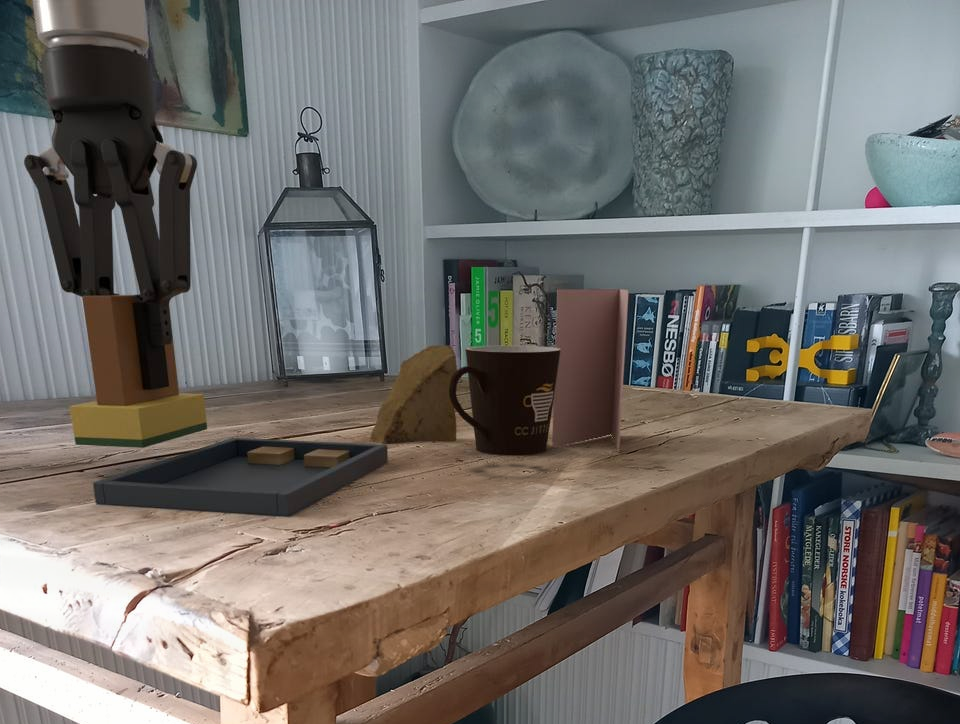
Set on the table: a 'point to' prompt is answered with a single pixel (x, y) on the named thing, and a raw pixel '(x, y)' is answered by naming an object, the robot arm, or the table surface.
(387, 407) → the rock
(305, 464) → the chip
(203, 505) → the tray
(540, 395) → the coffee mug
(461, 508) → the table surface
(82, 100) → the robot arm
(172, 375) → the sponge
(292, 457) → the chip
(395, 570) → the table surface
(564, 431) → the greeting card
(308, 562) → the table surface
